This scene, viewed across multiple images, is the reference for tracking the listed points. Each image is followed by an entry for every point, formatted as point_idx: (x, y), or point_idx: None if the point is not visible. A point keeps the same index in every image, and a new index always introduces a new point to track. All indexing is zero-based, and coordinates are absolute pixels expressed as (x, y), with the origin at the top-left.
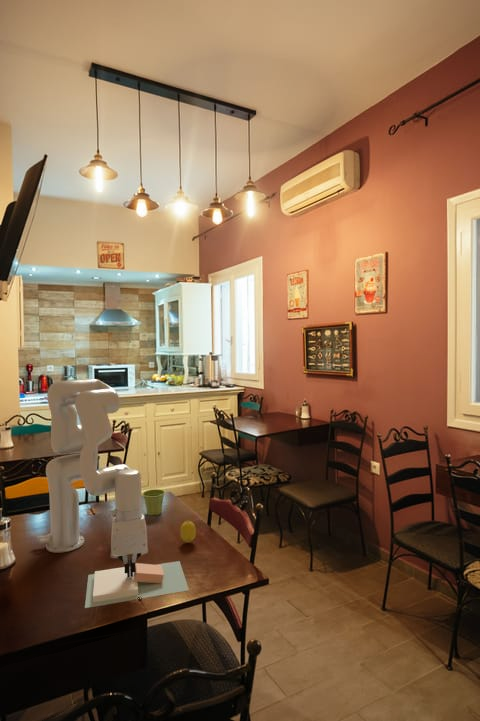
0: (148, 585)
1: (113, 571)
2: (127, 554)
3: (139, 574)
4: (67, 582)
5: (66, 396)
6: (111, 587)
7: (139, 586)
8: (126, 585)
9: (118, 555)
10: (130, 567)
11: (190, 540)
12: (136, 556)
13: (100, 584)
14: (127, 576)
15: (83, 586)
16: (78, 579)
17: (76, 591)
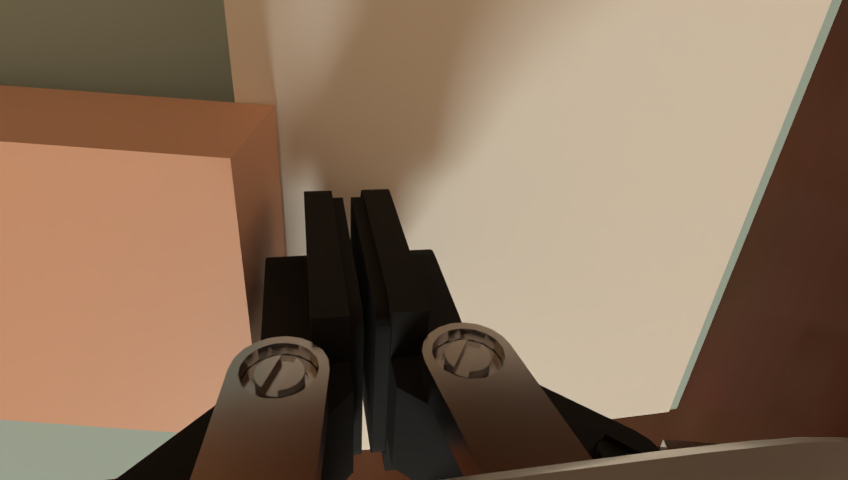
0: (73, 76)
1: None
2: (516, 473)
3: (178, 142)
4: (826, 344)
5: None
6: (604, 52)
7: (212, 92)
8: (401, 39)
9: (811, 441)
10: (351, 273)
11: None
12: (201, 461)
13: (697, 170)
14: (387, 190)
15: (752, 266)
16: (748, 368)
17: (827, 202)
